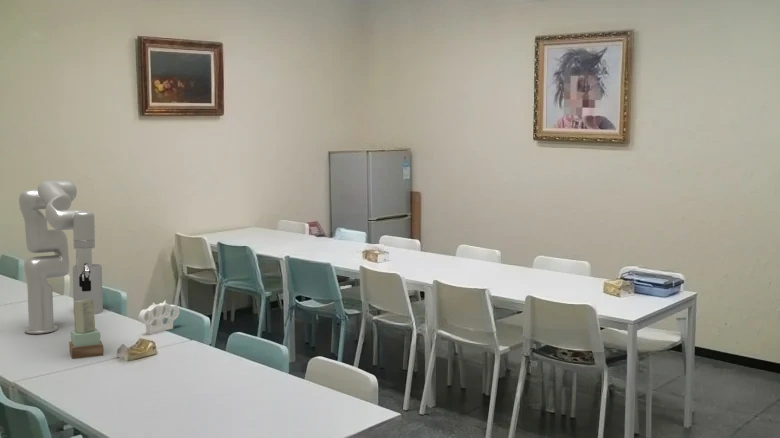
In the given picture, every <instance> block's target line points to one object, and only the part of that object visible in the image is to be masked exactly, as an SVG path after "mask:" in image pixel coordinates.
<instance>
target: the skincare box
mask: <svg viewBox="0 0 780 438" xmlns="http://www.w3.org/2000/svg"><path fill="white" fill-rule="evenodd" d="M73 316H74V317H73V318H74V330H75V332H76V333H86V332H89V331H93V330H95V328H96V321H95V315H94V299H81V300H77V301H74V300H73Z"/></svg>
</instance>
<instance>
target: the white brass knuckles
mask: <svg viewBox="0 0 780 438" xmlns="http://www.w3.org/2000/svg"><path fill="white" fill-rule="evenodd" d="M164 308H165V311H164V313H163V310H164ZM155 310H156V314H155V315H154V311H155ZM172 310H173V313H172V315H171V312H172ZM146 315H147V316H148V317H147V320H146V319H145V317H146ZM179 316H180V308H179V306H177V305H176V304H169V303H167V300H163V302H160V303H158V304H156V303H155V302H154V301H153V302H152V304H151V305H149V306H148V307H147V308H145V309H141V311H140V312H139V314H138V320H139V322H140V323H141V324H144V325H145V328H146V329H145V333H146V334H147V335H154V334H157V333H162V332H164V331H168V330H173V329H174V321H175V320H176V319H177V318H179ZM164 319H167V321H166V323H163V322H164ZM155 320H156V324H154V325H152V324H153V323H154V321H155Z"/></svg>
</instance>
